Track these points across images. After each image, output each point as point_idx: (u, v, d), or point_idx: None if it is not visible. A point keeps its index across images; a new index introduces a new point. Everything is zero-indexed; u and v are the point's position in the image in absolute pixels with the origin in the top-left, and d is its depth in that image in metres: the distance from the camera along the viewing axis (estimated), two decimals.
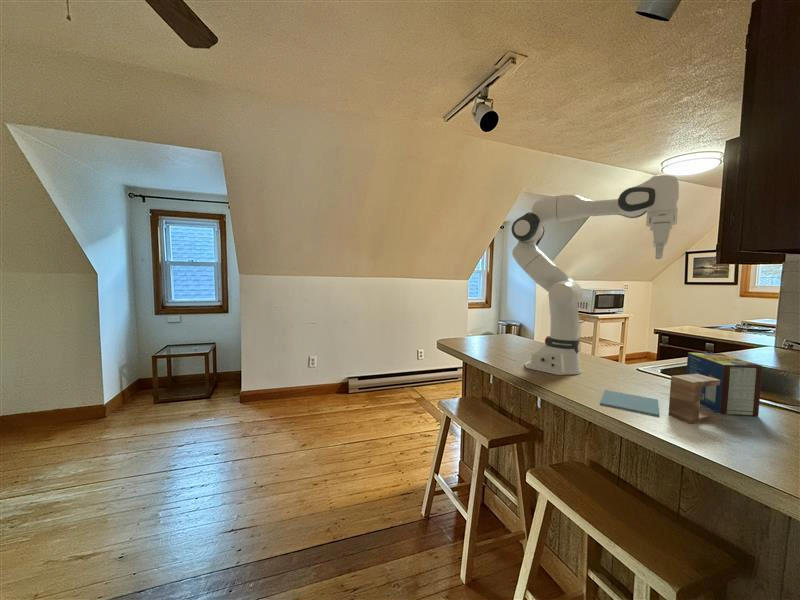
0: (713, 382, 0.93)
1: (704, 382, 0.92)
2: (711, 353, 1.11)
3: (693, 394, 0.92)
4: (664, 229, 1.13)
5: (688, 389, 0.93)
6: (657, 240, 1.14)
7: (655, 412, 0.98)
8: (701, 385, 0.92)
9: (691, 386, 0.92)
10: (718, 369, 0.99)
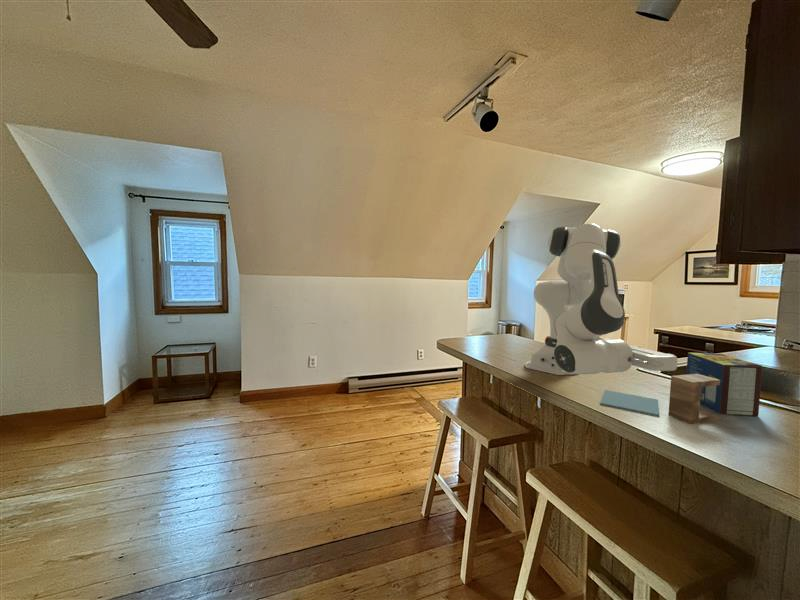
0: (713, 382, 0.93)
1: (704, 382, 0.92)
2: (711, 353, 1.11)
3: (693, 394, 0.92)
4: None
5: (688, 389, 0.93)
6: None
7: (655, 412, 0.98)
8: (701, 385, 0.92)
9: (691, 386, 0.92)
10: (718, 369, 0.99)
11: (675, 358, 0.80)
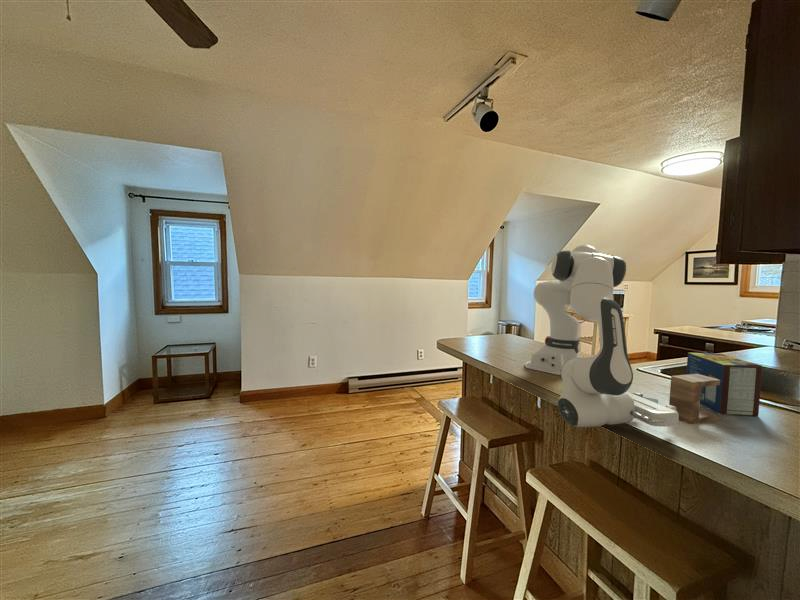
0: (713, 382, 0.93)
1: (704, 382, 0.92)
2: (711, 353, 1.11)
3: (693, 394, 0.92)
4: None
5: (688, 389, 0.93)
6: None
7: None
8: (701, 385, 0.92)
9: (691, 386, 0.92)
10: (718, 369, 0.99)
11: (676, 414, 0.82)
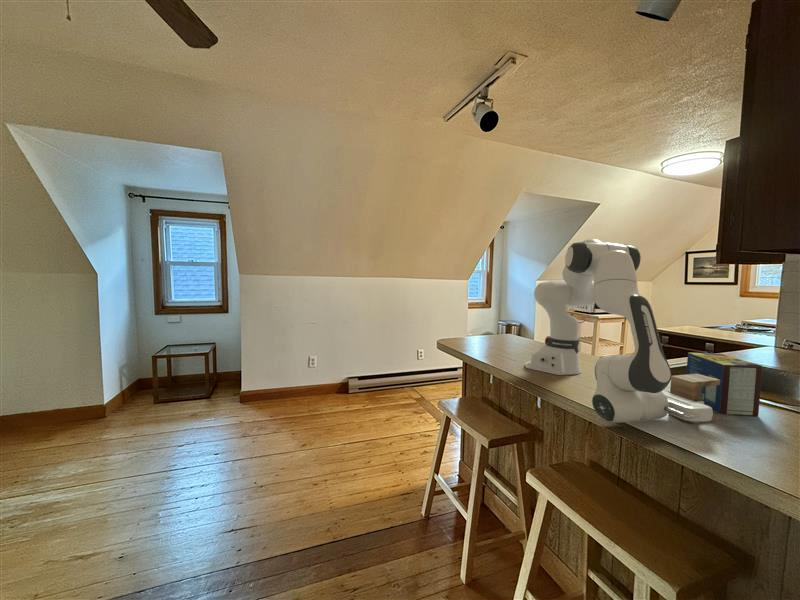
0: (713, 382, 0.93)
1: (704, 382, 0.92)
2: (711, 353, 1.11)
3: (693, 394, 0.92)
4: None
5: (688, 389, 0.93)
6: None
7: None
8: (701, 384, 0.92)
9: (691, 386, 0.92)
10: (718, 369, 0.99)
11: (710, 409, 0.84)
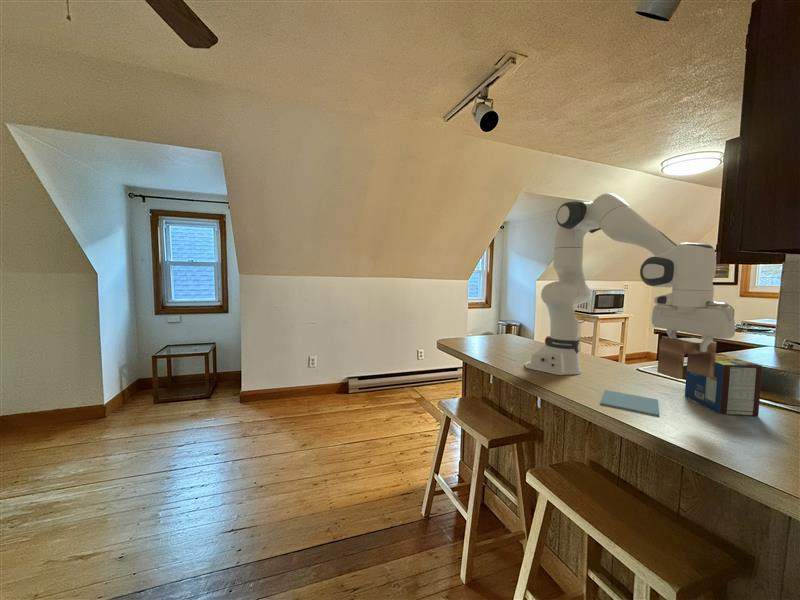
0: (712, 367, 0.92)
1: (714, 356, 0.92)
2: None
3: None
4: None
5: None
6: None
7: (655, 412, 0.98)
8: (712, 352, 0.92)
9: None
10: (718, 369, 0.99)
11: (734, 333, 0.84)
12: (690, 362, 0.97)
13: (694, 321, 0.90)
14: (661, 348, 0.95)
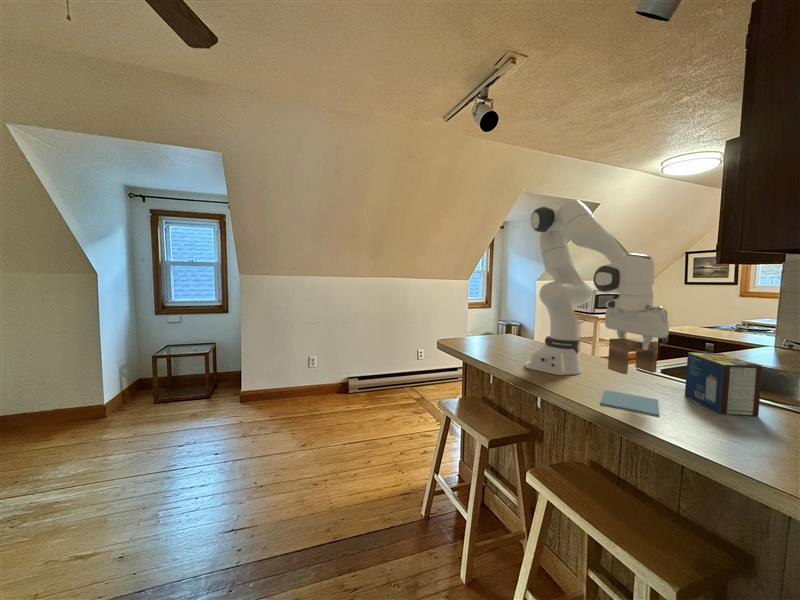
0: (654, 364, 1.04)
1: (656, 354, 1.04)
2: (711, 353, 1.11)
3: None
4: None
5: None
6: None
7: (655, 412, 0.98)
8: (654, 350, 1.04)
9: (652, 341, 1.04)
10: (718, 369, 0.99)
11: (668, 333, 0.96)
12: (637, 359, 1.09)
13: (637, 322, 1.02)
14: (610, 347, 1.07)
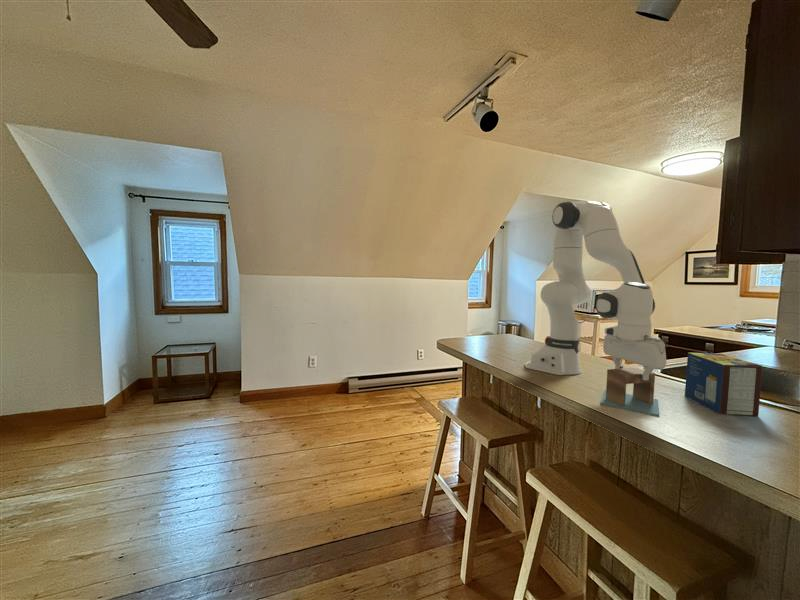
0: (651, 395, 1.05)
1: (653, 385, 1.05)
2: (711, 353, 1.11)
3: None
4: None
5: None
6: None
7: (655, 412, 0.98)
8: (652, 382, 1.05)
9: None
10: (718, 369, 0.99)
11: (665, 365, 0.97)
12: (635, 389, 1.10)
13: (635, 352, 1.03)
14: (608, 378, 1.08)
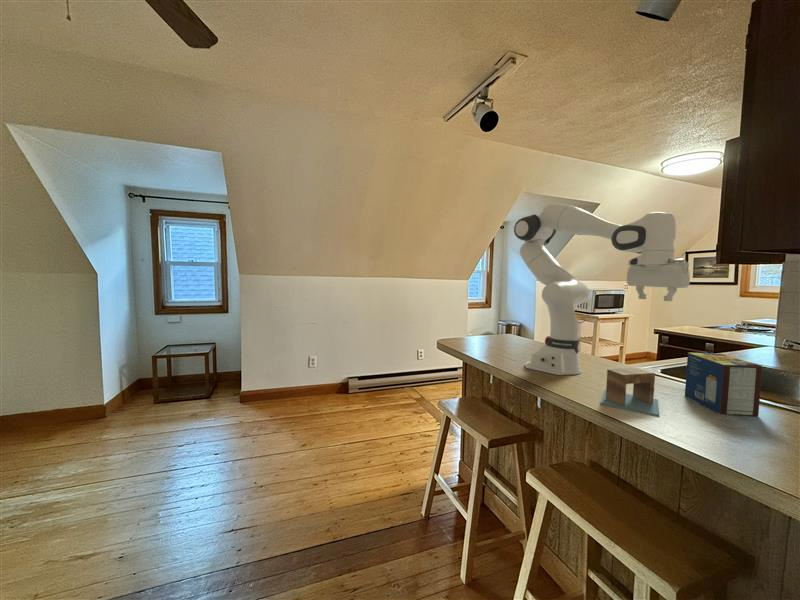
0: (651, 395, 1.05)
1: (653, 385, 1.05)
2: (711, 353, 1.11)
3: (645, 374, 1.04)
4: None
5: (645, 372, 1.05)
6: None
7: (655, 412, 0.98)
8: (652, 382, 1.05)
9: (650, 372, 1.05)
10: (718, 369, 0.99)
11: (689, 283, 1.04)
12: (635, 389, 1.10)
13: (659, 276, 1.10)
14: (608, 378, 1.08)
